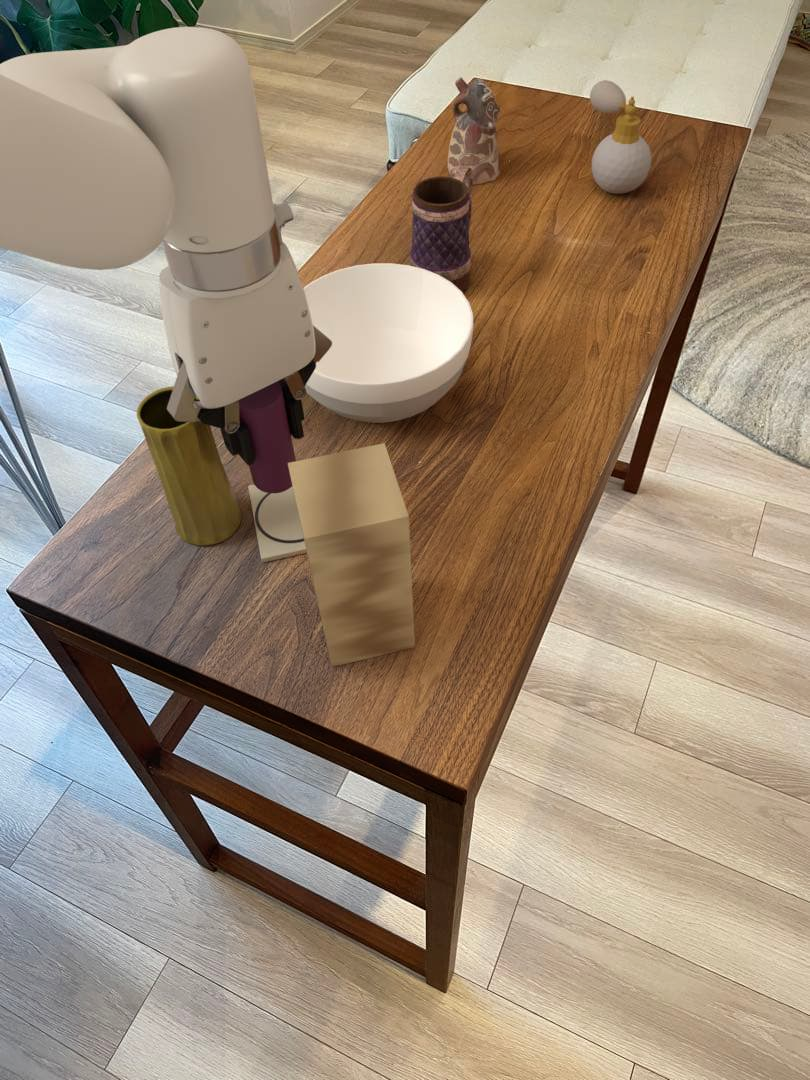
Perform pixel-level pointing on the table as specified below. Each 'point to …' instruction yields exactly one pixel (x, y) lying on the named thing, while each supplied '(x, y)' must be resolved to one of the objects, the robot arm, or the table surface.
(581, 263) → the table surface
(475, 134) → the figurine
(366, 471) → the stand
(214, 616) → the table surface
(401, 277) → the bowl
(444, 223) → the mug
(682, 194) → the table surface
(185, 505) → the vase
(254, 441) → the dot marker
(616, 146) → the perfume bottle
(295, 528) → the sketch card
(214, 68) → the robot arm
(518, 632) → the table surface
